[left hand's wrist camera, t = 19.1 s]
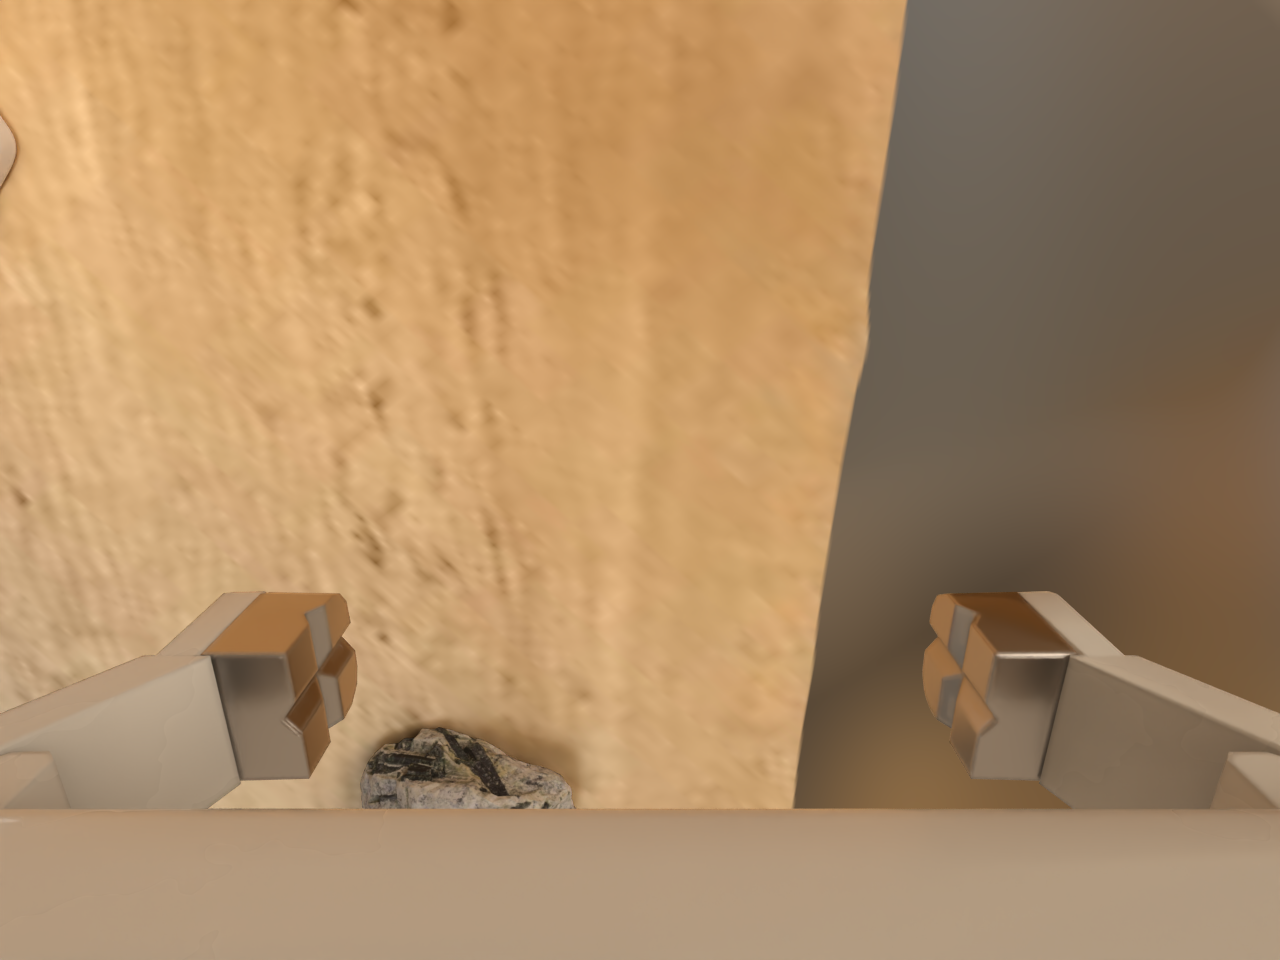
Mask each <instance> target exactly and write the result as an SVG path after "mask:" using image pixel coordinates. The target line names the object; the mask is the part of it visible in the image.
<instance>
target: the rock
mask: <svg viewBox="0 0 1280 960" xmlns="http://www.w3.org/2000/svg"><path fill="white" fill-rule="evenodd" d="M360 786H361V791H362V795H361V799H362V807H363V809H576V808H575V807H574V805H573V800H572V798H571V796H572V790H571V787H570V786H569V785H568V784H567V783H566V781H565V780H564V779H563V778H562V776H561V775H560V774H558V773H556V772H554V771H552V770H550V769H547V768H544V767H541V766H536V765H530V764H527V763H524V762H521V761H518V760H516V759H514V758H512V757H510V756H508V755H506V753H504V752H503V751H501V750H500V749H498V748H497V747H495V746H493V745H491V744H490V743H488V742H486V741H483V740H481V739H473V738H471V737H469V736H468V735H465V734H461V733H457V732H455V731H453V730H449V729H444V728H439V727H438V728H437V729H421V730H420V732H419V734H418V735H417V736H416V737H415V738H406V739H404V740H402V741H401V742H399V743H396V744H385V745H384V746H383V747H381V748H380V749H379V750H378V751H376V752H375V754H374V755H373V756H372V758H371V759H370V761H369V762H368V764H367V766H366V768H365V770H364V773H363V776H362V779H361V783H360Z"/></svg>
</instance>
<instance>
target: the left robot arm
mask: <svg viewBox="0 0 1280 960" xmlns="http://www.w3.org/2000/svg"><path fill="white" fill-rule="evenodd" d="M15 156H16V142H15V138H14V136H13V134H12V132H11V130H10V128H9V127H8V125H7V124H6V123H5V121H4V120H3V118H2V117H1V115H0V187H1V185H2V184H3V182H4V180H5V178H6V177H7V175H8V173H9V171H10V169H11V167H12V165H13V162H14V160H15ZM350 623H351V622H350V617H349V612H348V607H347V602H346V600H345V599H344V598H343V597H342V596H341V594H340V593H287V592H268V593H267V592H264V591H258V592H231V593H224V594H222V595H221V596H220V597H219V598H218V599H217V600H216V601H215V602H214V603H213V604H212V605H210V606H209V607H208V608H207V609H206V610H205V611H204V612H203V613H202V614H201V615H199V616H198V617H197V618H196V619H195V620H194V621H193V622H192V623H191V624H190V625H188V626H187V627H186V628H185V629H184V630H183V631H182V632H181V633H180V634H179V635H178V636H176V637H175V638H174V639H173V640H172V641H171V642H170V643H169V644H168V645H167V646H165V647H164V648H163V649H162V650H161V651H160V652H159V653H158V654H157V655H151V656H141V657H139V658H136V659H134V660H131V661H129V662H126V663H124V664H121V665H119V666H116V667H114V668H111V669H109V670H106V671H104V672H102V673H99V674H97V675H94V676H92V677H89V678H87V679H84V680H82V681H79V682H77V683H74V684H72V685H69V686H67V687H65V688H62V689H60V690H57V691H55V692H52V693H50V694H47V695H45V696H42V697H40V698H37V699H35V700H33V701H30V702H28V703H25V704H23V705H20V706H18V707H15V708H13V709H10V710H8V711H5V712H3V713H0V960H1280V714H1279V713H1277V712H1274V711H1272V710H1269V709H1267V708H1264V707H1262V706H1259V705H1257V704H1254V703H1252V702H1250V701H1247V700H1245V699H1242V698H1240V697H1237V696H1235V695H1232V694H1230V693H1228V692H1225V691H1222V690H1220V689H1218V688H1215V687H1213V686H1210V685H1208V684H1205V683H1203V682H1200V681H1198V680H1196V679H1193V678H1191V677H1188V676H1186V675H1183V674H1181V673H1178V672H1176V671H1173V670H1171V669H1169V668H1166V667H1164V666H1161V665H1159V664H1156V663H1154V662H1151V661H1149V660H1146V659H1144V658H1141V657H1139V656H1128V655H1123V654H1122V653H1121V652H1120V651H1119V650H1118V649H1117V648H1116V647H1115V646H1114V645H1112V644H1111V643H1110V642H1109V641H1108V640H1107V639H1106V638H1105V637H1104V636H1103V635H1102V634H1100V633H1099V632H1098V631H1097V630H1096V629H1095V628H1094V627H1093V626H1092V625H1090V624H1089V623H1088V622H1087V621H1086V620H1085V619H1084V618H1083V617H1082V616H1081V615H1080V614H1079V613H1077V612H1076V611H1075V610H1074V609H1073V608H1072V607H1071V606H1070V605H1069V604H1068V603H1067V602H1065V601H1064V600H1063V599H1062V598H1061V597H1060V596H1059V595H1058V594H1055V593H1052V592H1048V591H1041V592H1018V593H1017V592H998V593H956V594H942V595H937V597H936V599H935V601H934V603H933V606H932V611H931V616H930V624H931V626H932V627H933V629H934V630H935V632H936V633H937V635H938V637H937V638H936V639H935V640H934V642H933V643H932V644H931V645H930V646H929V647H928V648H927V649H926V650H925V654H924V662H923V671H922V673H923V683H924V692H925V695H926V699H927V702H928V705H929V707H930V709H931V711H932V713H933V714H934V716H935V718H936V719H937V720H939V721H940V722H942V723H943V724H945V725H947V726H948V727H950V728H951V735H950V741H949V742H950V744H951V746H952V747H953V749H954V751H955V752H956V754H957V756H958V757H959V759H960V761H961V763H962V764H963V766H964V768H965V769H966V771H967V773H968V774H969V776H970V778H971V779H1002V780H1039V781H1040V782H1039V784H1041V785H1042V786H1043V787H1045V788H1046V789H1047V790H1049V791H1050V792H1051V793H1053V794H1054V795H1055V796H1057V797H1058V798H1059V799H1061V800H1062V801H1063V802H1065V803H1066V804H1067V805H1069V806H1070V807H1071V808H1073V809H208V808H209V807H210V806H212V805H213V804H214V803H216V802H217V801H218V800H220V799H221V798H222V797H224V796H225V795H226V794H228V793H229V792H230V791H232V790H233V789H234V788H236V787H237V786H238V785H240V783H241V782H240V781H241V780H277V779H309V778H310V776H311V775H312V773H313V771H314V769H315V768H316V766H317V764H318V763H319V761H320V759H321V758H322V756H323V754H324V752H325V751H326V749H327V747H328V746H329V744H330V742H331V741H330V735H329V728H330V727H332V726H333V725H335V724H337V723H338V722H340V721H341V720H343V719H344V718H345V716H346V714H347V712H348V711H349V709H350V707H351V705H352V702H353V698H354V694H355V690H356V686H357V660H356V654H355V650H354V649H353V648H352V647H351V646H350V645H349V644H348V643H347V642H346V640H345V639H344V638H343V637H342V635H343V633H344V632H345V630H346V629H347V627H348V626H349V624H350Z"/></svg>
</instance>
